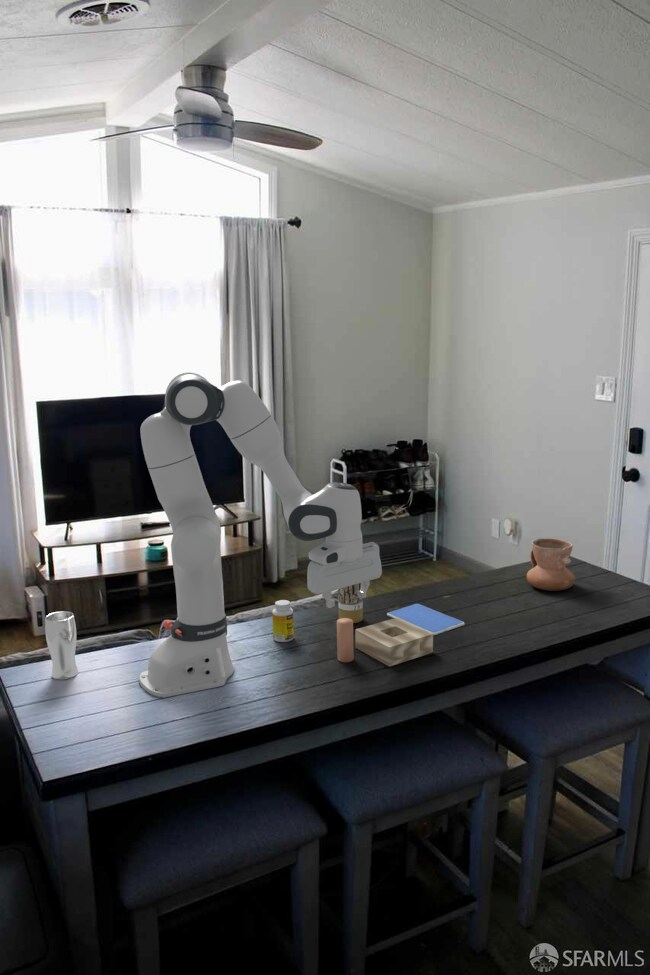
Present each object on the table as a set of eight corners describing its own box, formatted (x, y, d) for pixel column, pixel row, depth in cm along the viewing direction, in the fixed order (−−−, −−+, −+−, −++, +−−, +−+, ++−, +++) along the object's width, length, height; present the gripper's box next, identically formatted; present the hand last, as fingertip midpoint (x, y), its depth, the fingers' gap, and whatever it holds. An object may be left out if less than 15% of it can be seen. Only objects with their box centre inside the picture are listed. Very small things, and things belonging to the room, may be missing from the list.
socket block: (389, 666, 194) (389, 647, 193) (355, 647, 205) (355, 629, 204) (432, 652, 202) (433, 633, 200) (397, 634, 213) (397, 617, 212)
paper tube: (336, 623, 221) (334, 537, 216) (341, 614, 228) (340, 530, 222) (360, 625, 220) (359, 538, 214) (364, 616, 226) (364, 531, 221)
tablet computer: (466, 626, 219) (466, 621, 219) (433, 637, 212) (433, 633, 212) (417, 606, 235) (417, 602, 234) (385, 617, 227) (385, 612, 227)
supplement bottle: (288, 644, 208) (287, 607, 206) (269, 641, 210) (268, 604, 208) (297, 636, 213) (296, 600, 211) (278, 633, 215) (277, 597, 213)
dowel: (343, 663, 196) (342, 625, 194) (334, 658, 199) (333, 620, 197) (356, 659, 198) (356, 621, 196) (347, 654, 202) (346, 616, 199)
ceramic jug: (587, 592, 242) (589, 547, 239) (546, 598, 237) (548, 552, 235) (551, 576, 259) (553, 533, 256) (513, 581, 254) (514, 538, 251)
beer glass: (81, 667, 197) (76, 609, 194) (78, 679, 190) (72, 620, 187) (52, 669, 196) (46, 612, 193) (47, 682, 189) (41, 622, 186)
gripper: (370, 537, 201) (372, 589, 204) (302, 553, 190) (305, 608, 193) (386, 543, 196) (387, 596, 199) (317, 559, 185) (319, 616, 188)
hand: (346, 602), depth 196 cm, fingers open, 8 cm apart
